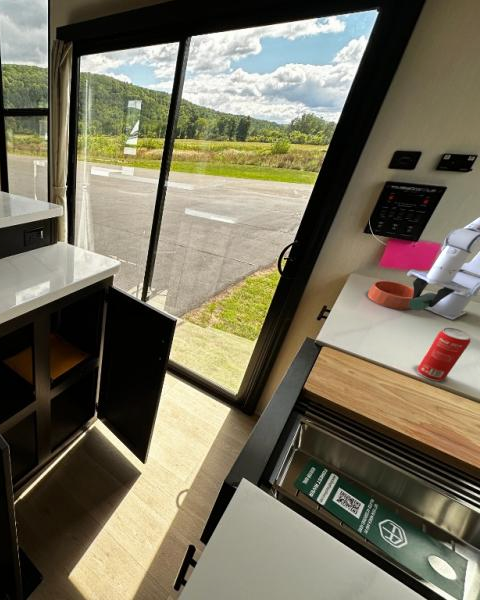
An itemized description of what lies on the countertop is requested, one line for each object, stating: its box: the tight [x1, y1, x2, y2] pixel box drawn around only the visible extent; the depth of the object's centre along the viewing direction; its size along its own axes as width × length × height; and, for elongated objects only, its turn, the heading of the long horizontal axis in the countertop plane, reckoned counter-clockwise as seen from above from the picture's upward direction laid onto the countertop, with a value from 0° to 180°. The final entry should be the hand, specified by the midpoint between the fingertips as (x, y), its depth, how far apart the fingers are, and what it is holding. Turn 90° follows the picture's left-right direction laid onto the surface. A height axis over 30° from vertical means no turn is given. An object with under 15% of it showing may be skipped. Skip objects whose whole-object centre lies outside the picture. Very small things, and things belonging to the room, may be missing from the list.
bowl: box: [367, 279, 414, 310], centre depth 122 cm, size 13×13×5 cm
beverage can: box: [416, 327, 472, 382], centre depth 87 cm, size 6×6×15 cm
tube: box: [408, 292, 437, 312], centre depth 106 cm, size 9×4×4 cm, turn 114°
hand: (422, 302), depth 107 cm, fingers closed on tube, 4 cm apart
